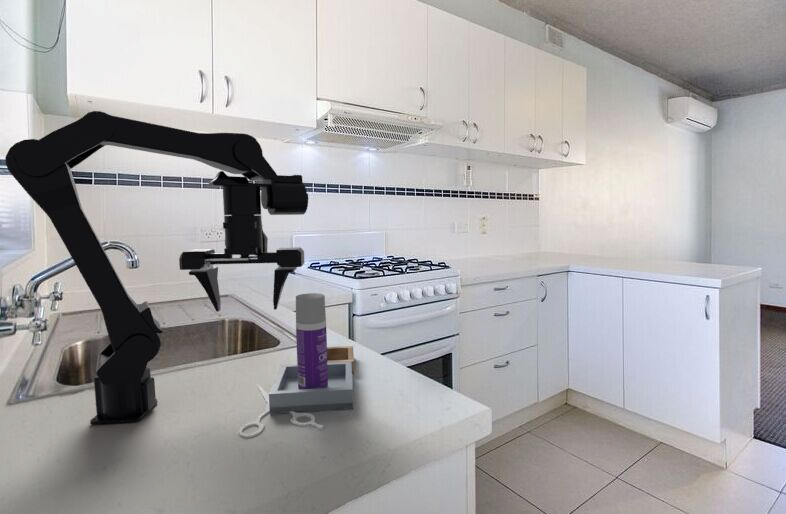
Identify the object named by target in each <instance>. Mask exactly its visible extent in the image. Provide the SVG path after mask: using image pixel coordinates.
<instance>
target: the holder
mask: <svg viewBox="0 0 786 514" xmlns="http://www.w3.org/2000/svg"><path fill="white" fill-rule="evenodd" d="M332 362H351V366H352V376H355V355H354V345H343V346H341V345H340V346H327V363H332Z"/></svg>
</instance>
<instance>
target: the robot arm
mask: <svg viewBox="0 0 786 514" xmlns="http://www.w3.org/2000/svg"><path fill="white" fill-rule="evenodd" d="M105 146H112V147H113V146H114V147H118V148H123V149H129V150H136V151H142V152H147V153H153V154H154V153H155V154H159V155H164V156H172V157H178V158H181V159H189V160H194V161H197V162H200V163H202V164H205V165H208V166H209V167H212V168H215V169H218V170H220V171H218V172H217V174H216V176H215V177H214V178H213V179H212V180H211V181H209V182H208V186H209V187H212V188H222V201H223V202H222V203H223V218H224V219H223V221H224V222H222V229H223V230H224V246H225V248H223V249H224V250H223V251H224V252H223V253H222V252H220V253H219V252H218V253H216V252H215V249H214V248H205V249H204V248H202V249H201V248H199V249H194V248H193V249H189V250H185V251H182V252H181V254H180V255H179V257H178V258H179V259H178V261H179V263H178V265H179V270H181V271H183V270H184V271H187V270H188V275H189V276H195V279H197V280H198V283H200V285H201V287H202V288H203V290H204V291H205V293H206V295H207V296H208V298H209V300H210V302H211V304H212V306H213V307H214V309H215V311H216V312H221V307H222V306H221V303H222V302H221V296H220V288H219V287H220V286H219V281H218V273H219V267H218V266H214V265H242V264H243V265H247V264H251V265H252V264H276V265H277V268H275V269H274V274H273V276H274V277H273V293H272V295H273V298H272V304H273V310H275V311H276V310H278V307H279V303H280V300H281V297H282V296H281V295H282V292H283V290H284V286H285V284H286V281H287V279H288V276H289V274H292V273H294V272H295V271H296V270H297V268H301V267H303V265H305V250H304V249H303V248H301V246H299V247H280V248H278V249H276V251H270V252H268V237H267V235H266V233H265V232H264V230H263V222H262V208H263V209H264V210H267V212H268V214H269V215H270V216H284V215H285V216H291V215H293V216H294V215H295V216H296V215H297V216H298V215H299V216H300V215H302V216H303V215H305V214H306V212H307V210H308V206H309V193H307V188H306V185H305V183H304V182H303V176H302V175H301V174H293V175H284V174H283V175H281V174H280V175H278V174H277V173H276V171H275V170H274V168H273V167H272V166H271V164H270V163H269V162H268V161H267V159H266V157H265V156H264V155H263V149H262V146H261V144H260V143H259V142H258V140H257V138H256V137H254V136H253V135H250V134H247V133H238V132H237V133H236V132H210V133H209V132H208V133H205V132H196V131H191V130H190V131H189V130H184V129H179V128H175V127H171V126H166V125H161V124H157V123H156V124H155V123H151V122H146V121H140V120H136V119H130V118H125V117H121V116H116V115H111V114H110V113H109V114H108V113H106V112H105V111H100V110H93V111H89V112H87V113H86V114H84V116H82V117H80V118H79V119H77V120H76V121H73V122H71V123H69V124H66V125H64V126H62V127H60V128H58V129H56V130H53V131H51V132H50V133H48V134H47V135H45V136H42V137H41V138H39V139H35V138H29V139H23V140H20V141H18V142H15V143H14V144H13V145H12V146H11V147H9V149H8V151H7V153H6V155H5V158H4V159H5V160H4V161H5V165H6V168H7V170H8V172H9V173H10V174H11V176H13V178H14V179H15V180H16V181H17V182H18V184H19V185H20V186H21V188H23V190H24V191H25V192H26V193H27V195H29V197H30V198H31V199H32V200H33V201H34V202H35V203H36V204H37V206H38V207H39V208H41V210H42V211H43V212H44V213H45V214H46V215H47V216H48V218H49V220H50V221H51V223H52V225H53V226H54V227H53V228H55V230H56V231H57V234H58V236H59V237H60V239H61V242H63V245H65V248H66V249H67V251H68V253H69V255H70V256H71V258H72V260H73V262H74V264H75V266H76V268H77V269H78V271H79V273H80V274H81V276H82V278H83V280H84V282H85V283H86V285H87V287H88V289H89V290H90V292H91V294H92V296H93V297H94V300H95V301H96V303H97V304H98V307H99V308H100V311H101V314H102V317H103V320H104V325H105V327H106V331H107V335H108V339H109V342H110V343H109V344H107V346H105V348H104V349H103V350H101V352H100V353H98V356H97V363H96V375H95V376H93V386H94V396H95V397H94V398H95V399H94V400H95V409H96V415H95V416H94V417H92V418H91V419H90V420H89V422H90V423H89V424H90V425H100V424H118V423H119V424H121V423H136V422H139V421H140V420H142V419H143V418H144V417H145V416H146V415H147V414H148V413H149V412H150V411H151V410H152V409H153V408H154V406H156V405H157V404H158V398H157V397H156V383H155V378H154V377H151V376H152V375H151V367H150V366H147V365H148V363H149V362H150V361H152V360H153V359H154V358H156V356H157V355H158V353H159V352H160V349H161V346H162V342H161V339H160V335H159V334H163V332H164V331H163V330H162V327H161V325H160V322H159V321H158V320H157V319H155V318H154V316H153V314H152V310H151V307H150V305H149V302H148V300H145V301H144V302H142V303H141V304H139V305H138V304H137V302H135V300H134V299H133V298H132V297H131V296H130V295H129V294H128V291H127V290H126V288H125V285H124V284H123V282H122V280H121V278H120V277H119V275H118V273H117V271H116V269H115V267H114V264H112V262H111V259H110V257H109V256H108V254H107V252H106V250H105V248H104V247H103V245H102V242H101V241H100V239H99V238H98V235H97V233H96V232H95V230H94V228H93V226H92V224H91V222H90V221H89V219H88V217H87V215H86V213H85V212H84V209H83V207H82V203H81V200H80V197H79V193H78V189H77V186H76V182H75V179H74V176H73V173H72V169H73V168H75V167H76V166H78V165H79V164H81V163H82V162H84V161H85V160H87V159H88V158H90V157H91V156H92V155H93V154H95V153H97V152H98V151H99V150H101V149H102V148H104V147H105ZM226 173H229V174H233V175H241V176H233V175H232V176H231V175H230V176H229V175H227V174H226ZM249 181H250V182H249ZM254 182H262V183H254ZM233 256H239V257H233Z"/></svg>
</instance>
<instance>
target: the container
mask: <svg viewBox="0 0 786 514" xmlns="http://www.w3.org/2000/svg"><path fill="white" fill-rule="evenodd" d="M325 297H326V295H325V294H323V293H318V292H316V293H315V292H312V293H311V292H310V293H302V294H298V295H296V296H295V334H296V336H295V337H296V340H295V341H296V361H297V363H296V364H297V368H298V390H302V389H320V388H328V369H327V347H328V344H327V343H328V342H327V341H328V340H327V339H328V337H327V316H326V315H327V314H326V300H325V299H326V298H325Z"/></svg>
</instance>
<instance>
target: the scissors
mask: <svg viewBox="0 0 786 514" xmlns="http://www.w3.org/2000/svg"><path fill="white" fill-rule="evenodd" d="M256 386H257V389H258V390H259V392H260V394H261V396H262V397H263V399H264V400H265V402H266V407H265V410H264V412H263V413H261V414H258V415H257V418H256V419H255V420H253V421H251V422H248V423H245V424H244V425H243V426H241V427H240V428H239V429H238V430H239V431H238V435H239V436H240V437H242V438H247V439H249V438H253V437H256V436H258V435H260V434H261V433H262V432H263V431H264V429H265V427H266V425H265V424H263V423H261V419H263V418H264V417H266V415H268V414H270V409H269V393H268V392H267V391H266V390H264V388H262V387H261V386H260V385H259V384H258V383H256ZM289 414H290V415H292V418H291V419H290V423H291V424H292V425H295V426H299V427H307V426H312V427H316V428H317V429H318V430H323V429H324V427H325V426H324V425H323V424H318V423H317V422H316V417H315V415H313V414H311V413H309V412H294V411H290V413H289ZM301 417H307V418H309V419H310V421H307V422H306V421H305V422H300V421H297V419H298V418H301ZM254 426H255V427H258V429H257V430H256V431H255V432H251V433H244V432H243V431H244V430H246V429H247V428H250V427H254Z"/></svg>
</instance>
